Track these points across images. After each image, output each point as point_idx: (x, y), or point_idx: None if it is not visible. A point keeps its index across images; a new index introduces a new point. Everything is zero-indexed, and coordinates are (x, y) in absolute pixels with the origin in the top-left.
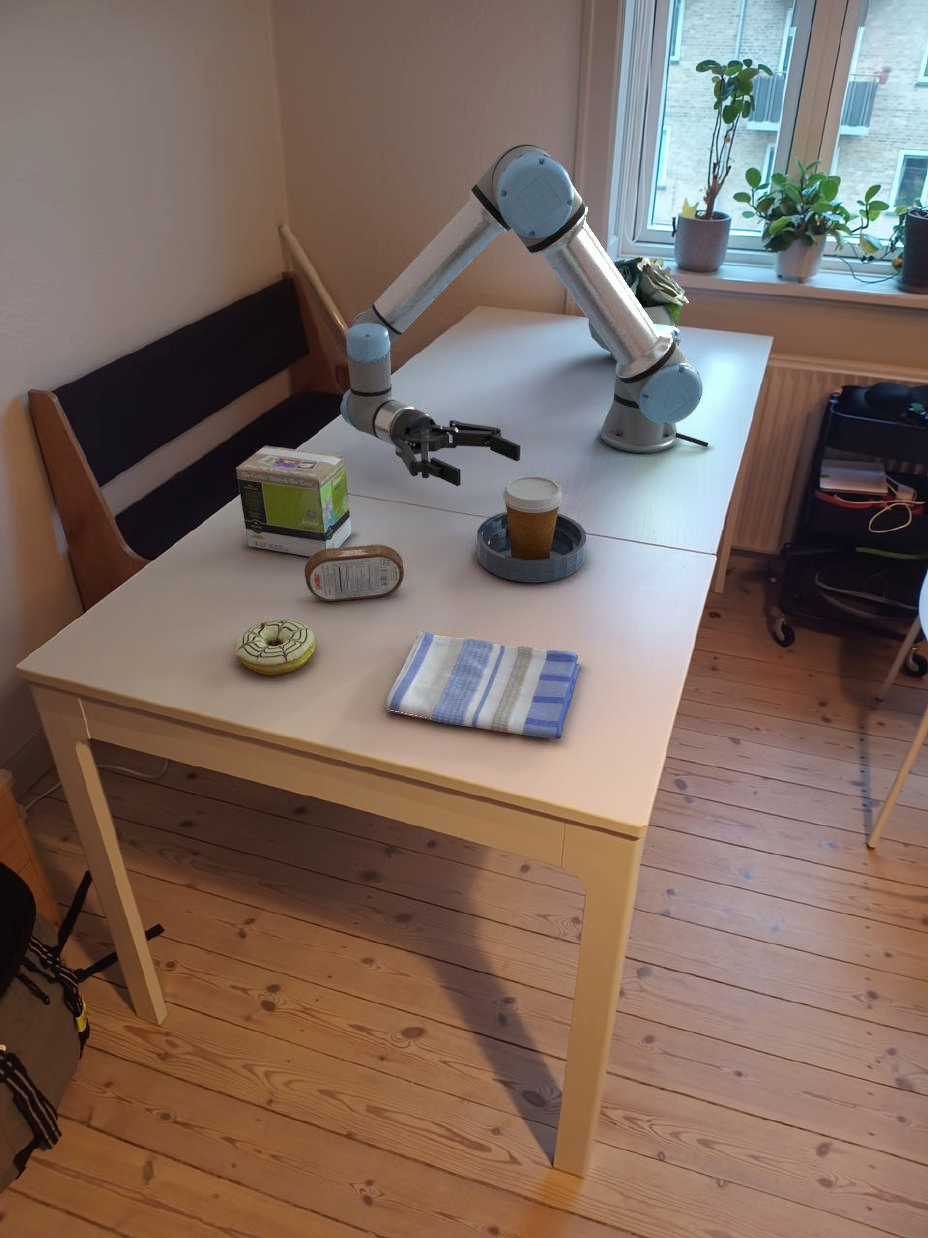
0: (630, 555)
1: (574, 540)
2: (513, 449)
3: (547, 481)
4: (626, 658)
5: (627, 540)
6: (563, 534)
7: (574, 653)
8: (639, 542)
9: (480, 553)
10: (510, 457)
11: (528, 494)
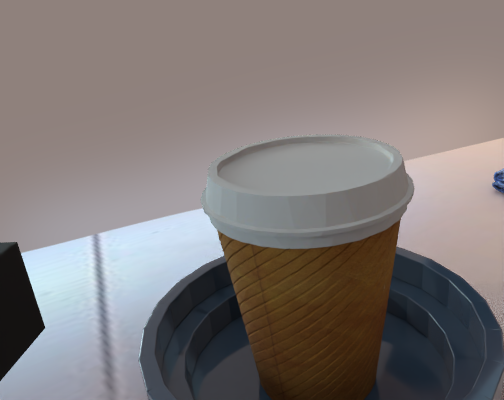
0: (162, 276)
1: (217, 299)
2: (7, 285)
3: (218, 175)
4: (415, 184)
5: (102, 302)
6: (195, 336)
7: (500, 170)
8: (101, 289)
9: (501, 396)
10: (9, 359)
11: (340, 161)
